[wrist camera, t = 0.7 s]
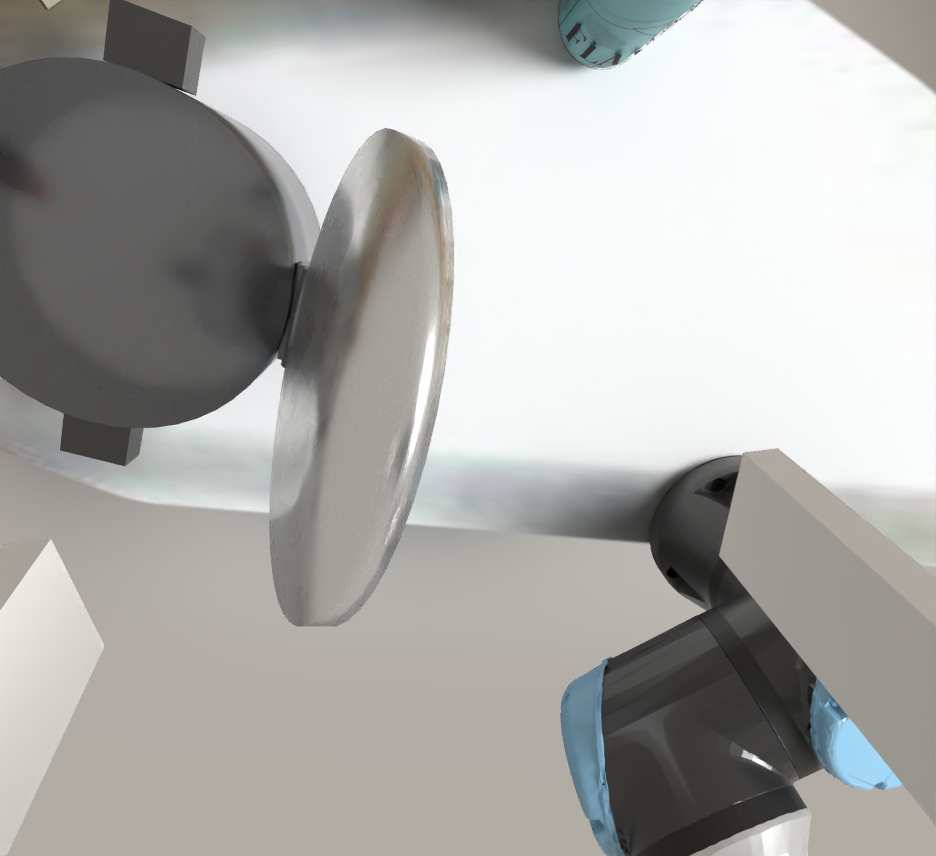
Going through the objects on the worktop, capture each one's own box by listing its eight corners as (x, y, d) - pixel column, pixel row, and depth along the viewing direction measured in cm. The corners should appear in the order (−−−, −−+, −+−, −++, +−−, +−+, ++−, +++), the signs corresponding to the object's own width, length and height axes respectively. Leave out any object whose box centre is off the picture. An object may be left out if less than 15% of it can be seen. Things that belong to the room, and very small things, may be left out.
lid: (332, 132, 32) (390, 154, 33) (255, 466, 38) (307, 472, 40) (485, 113, 14) (596, 164, 15) (290, 758, 20) (382, 748, 22)
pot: (387, 125, 42) (373, 92, 31) (305, 444, 50) (271, 510, 39) (67, 6, 38) (-81, -81, 27) (33, 371, 46) (-92, 421, 35)
